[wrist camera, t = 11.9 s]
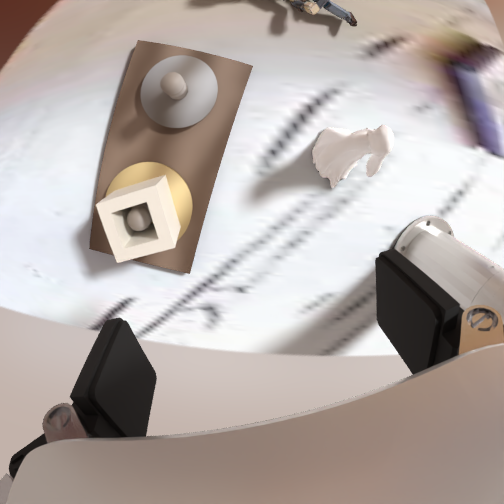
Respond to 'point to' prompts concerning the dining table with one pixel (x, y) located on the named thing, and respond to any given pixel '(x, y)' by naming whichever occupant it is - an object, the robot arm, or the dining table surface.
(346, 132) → the figurine
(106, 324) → the robot arm
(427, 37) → the dining table surface
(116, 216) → the collar
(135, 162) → the workboard
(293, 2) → the toy
